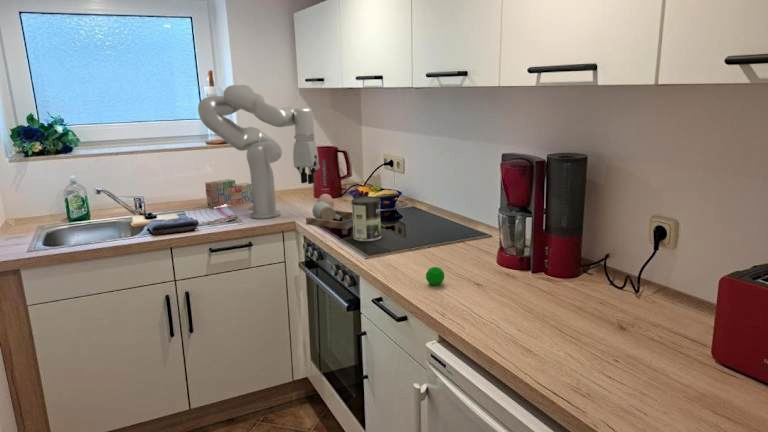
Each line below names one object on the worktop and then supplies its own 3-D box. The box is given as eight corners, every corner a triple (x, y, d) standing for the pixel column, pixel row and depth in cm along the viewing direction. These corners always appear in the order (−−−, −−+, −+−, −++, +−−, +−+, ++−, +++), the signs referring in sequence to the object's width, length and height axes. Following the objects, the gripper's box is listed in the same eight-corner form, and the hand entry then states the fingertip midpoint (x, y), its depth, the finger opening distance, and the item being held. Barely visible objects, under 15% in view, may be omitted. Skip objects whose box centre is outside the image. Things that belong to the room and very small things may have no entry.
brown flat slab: (306, 223, 221) (305, 216, 220) (331, 215, 234) (331, 208, 233) (345, 229, 210) (345, 221, 209) (370, 220, 223) (369, 213, 223)
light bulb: (320, 224, 219) (319, 205, 218) (312, 220, 226) (311, 202, 225) (344, 221, 224) (343, 202, 223) (335, 217, 231) (335, 199, 230)
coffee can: (382, 233, 203) (381, 196, 199) (380, 241, 193) (379, 202, 189) (354, 234, 203) (353, 196, 200) (351, 241, 193) (349, 202, 190)
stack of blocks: (248, 200, 273) (246, 176, 270) (254, 202, 268) (252, 177, 265) (207, 207, 259) (204, 182, 256) (213, 209, 254) (210, 183, 251)
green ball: (434, 289, 146) (434, 272, 145) (422, 284, 150) (422, 267, 149) (448, 284, 149) (448, 267, 147) (436, 279, 152) (436, 263, 151)
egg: (314, 212, 241) (313, 193, 239) (328, 209, 245) (327, 191, 243) (323, 215, 236) (322, 196, 234) (337, 212, 240) (336, 193, 238)
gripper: (283, 139, 224) (286, 183, 228) (314, 140, 215) (317, 186, 219) (296, 137, 230) (299, 180, 234) (326, 138, 221) (328, 183, 225)
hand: (307, 182), depth 227 cm, fingers open, 3 cm apart
